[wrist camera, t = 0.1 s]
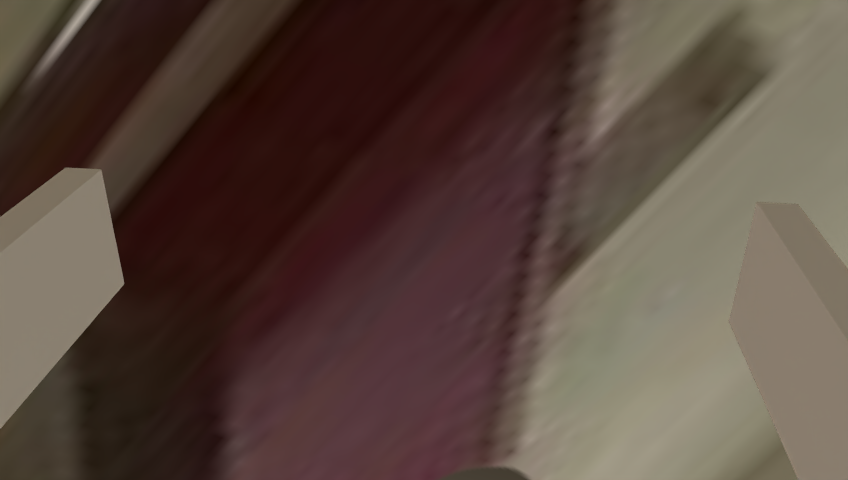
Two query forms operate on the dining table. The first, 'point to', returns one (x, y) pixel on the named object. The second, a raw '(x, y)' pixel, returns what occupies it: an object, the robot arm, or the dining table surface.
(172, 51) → the dining table surface
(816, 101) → the dining table surface
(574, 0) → the dining table surface
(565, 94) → the dining table surface
